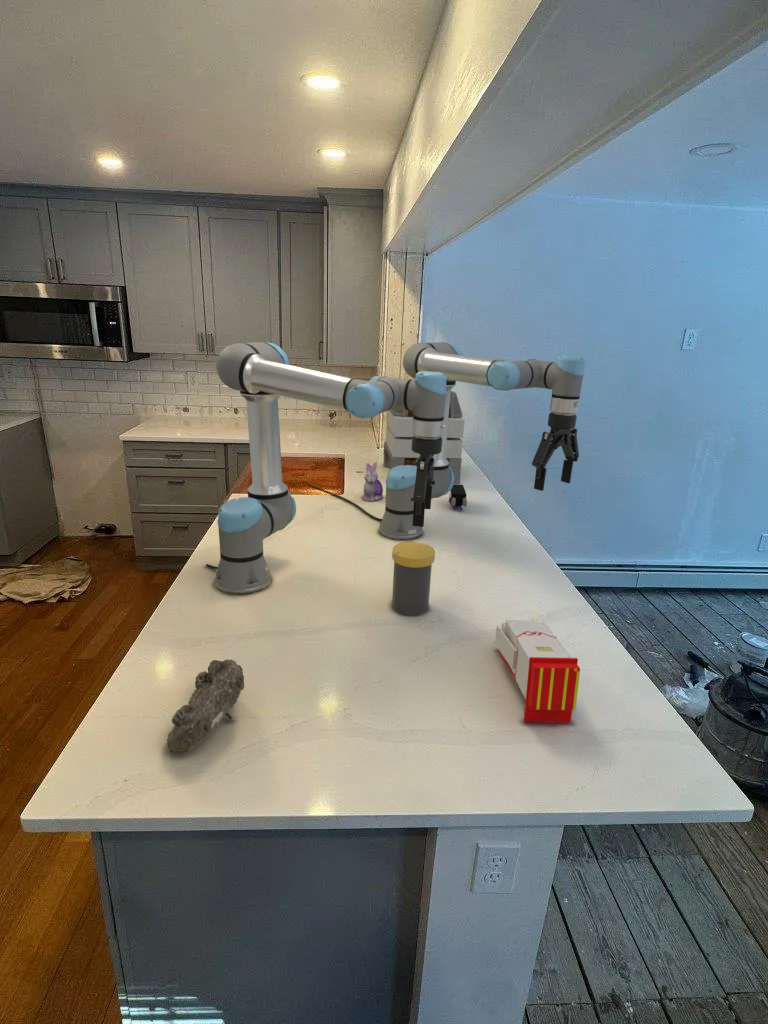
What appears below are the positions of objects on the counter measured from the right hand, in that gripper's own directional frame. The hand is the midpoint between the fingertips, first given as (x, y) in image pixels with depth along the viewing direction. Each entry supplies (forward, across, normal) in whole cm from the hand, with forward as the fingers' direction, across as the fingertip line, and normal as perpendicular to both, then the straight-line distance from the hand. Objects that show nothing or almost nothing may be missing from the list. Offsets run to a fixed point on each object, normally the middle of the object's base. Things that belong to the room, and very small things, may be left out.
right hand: (552, 485), depth 166 cm
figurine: (+28, +3, +84) cm, 89 cm away
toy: (+28, -48, -31) cm, 64 cm away
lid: (+12, -47, +8) cm, 49 cm away
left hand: (+4, -43, +10) cm, 44 cm away
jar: (+28, -47, +8) cm, 55 cm away
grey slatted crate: (+28, +46, +101) cm, 115 cm away
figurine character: (+28, +25, +57) cm, 68 cm away
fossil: (+28, -107, 0) cm, 110 cm away
